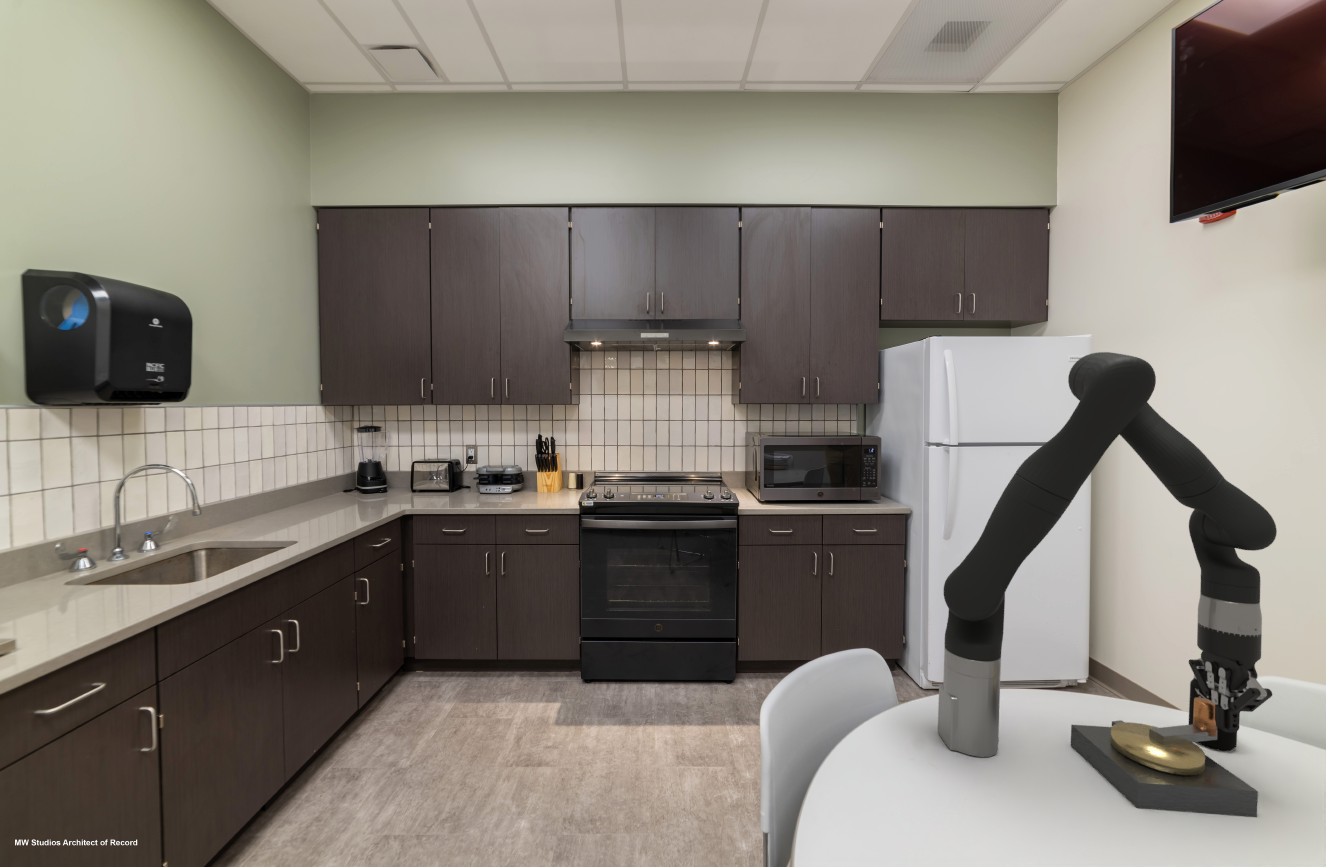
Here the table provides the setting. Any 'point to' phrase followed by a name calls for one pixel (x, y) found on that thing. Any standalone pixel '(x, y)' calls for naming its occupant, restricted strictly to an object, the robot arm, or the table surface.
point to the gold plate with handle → (1168, 741)
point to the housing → (1164, 779)
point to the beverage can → (1224, 739)
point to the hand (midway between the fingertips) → (1226, 729)
